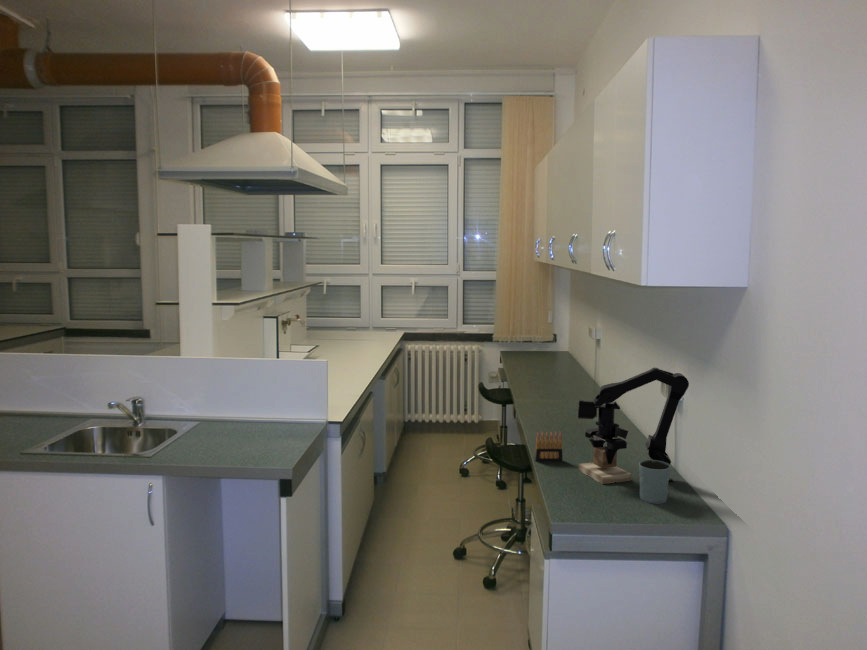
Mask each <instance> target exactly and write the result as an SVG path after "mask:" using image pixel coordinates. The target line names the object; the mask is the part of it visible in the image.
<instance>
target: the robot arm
mask: <svg viewBox="0 0 867 650" xmlns="http://www.w3.org/2000/svg"><path fill="white" fill-rule="evenodd" d="M655 381H657V382H660V383H662V384H665V385H667V386H668V387H667V388H668V389H667V397H666V400H665V403H664V406H663V409H662V411H661V414H660V418H659V420H658V423H657V427H656V428H655V429H656V430H655V432H654V433H653V435H651V434H648V437H647V441H646V443H645V448H646V452H647V454H648V456H649V458H650V460H658V461H663V462H666V463H668V464H670V465H671V463H672V461H671V459H670V456H669V454H668V452H666V450H667V439H668V436H669V435H668V434H669V432H670V428H671V425H672V423H673V420H674V417H675V414H676V411H677V408H678V405H679V403H680V401H681V399H682V398H683V396H684V395H685V394H686V392H687V391H688V388H689V386H690V382H689V380H688V379H687V377H686V376H685V375H684V374H682V373H680V372H675V373H672V372H669V371H667V370H663V369H660V368H659V367H655V366H654V367H652V368H650V369H649V370H646V371H644V372H641V373H639V374H636V375H634V376H632V377H629V378H627V379H625V380H622V381H619V382H613V383H612V382H611V383H608V384H604V385H602V386H600V387H599V390H598V394H597V395H596V396H595V397H594V398H593V400H584V399H579V400H578V407H577V419H581V420H594V419H595V418H596V417H597V413H598V420H597V421H595V426H597V428H588V429H587V430H585V433H584V437H586V438H587V439H588V440H589V442H590V443H591V446H592V448H593V449H594V448H595V447H604V448H605V453H606V457H607V461H608V464H611V463H612V461H613V458H614V456H615V454H616V452H617V453H618V451H619V450H624V449H627V448H628V442H627V441H626V439H627V437H628V434H629V430H626V429H625V428H622V427H620V425H619V424H618V423H616V422H615V414H616V413H615V410H620V409H621V405H620V404H618V403H617V401H616V400H618V399H619V398H621V397H622V396H623V395H624V394H626V393H629V392H631V391H633V390H635V389H637V388H640V387H642V386H646V385H647V384H650V383H652V382H655ZM597 411H598V412H597ZM622 438H623V439H622ZM605 443H606V445H605V446H604V444H605ZM673 479H674V478H671V477H669V481H668V482H673V481H674V480H673Z"/></svg>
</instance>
